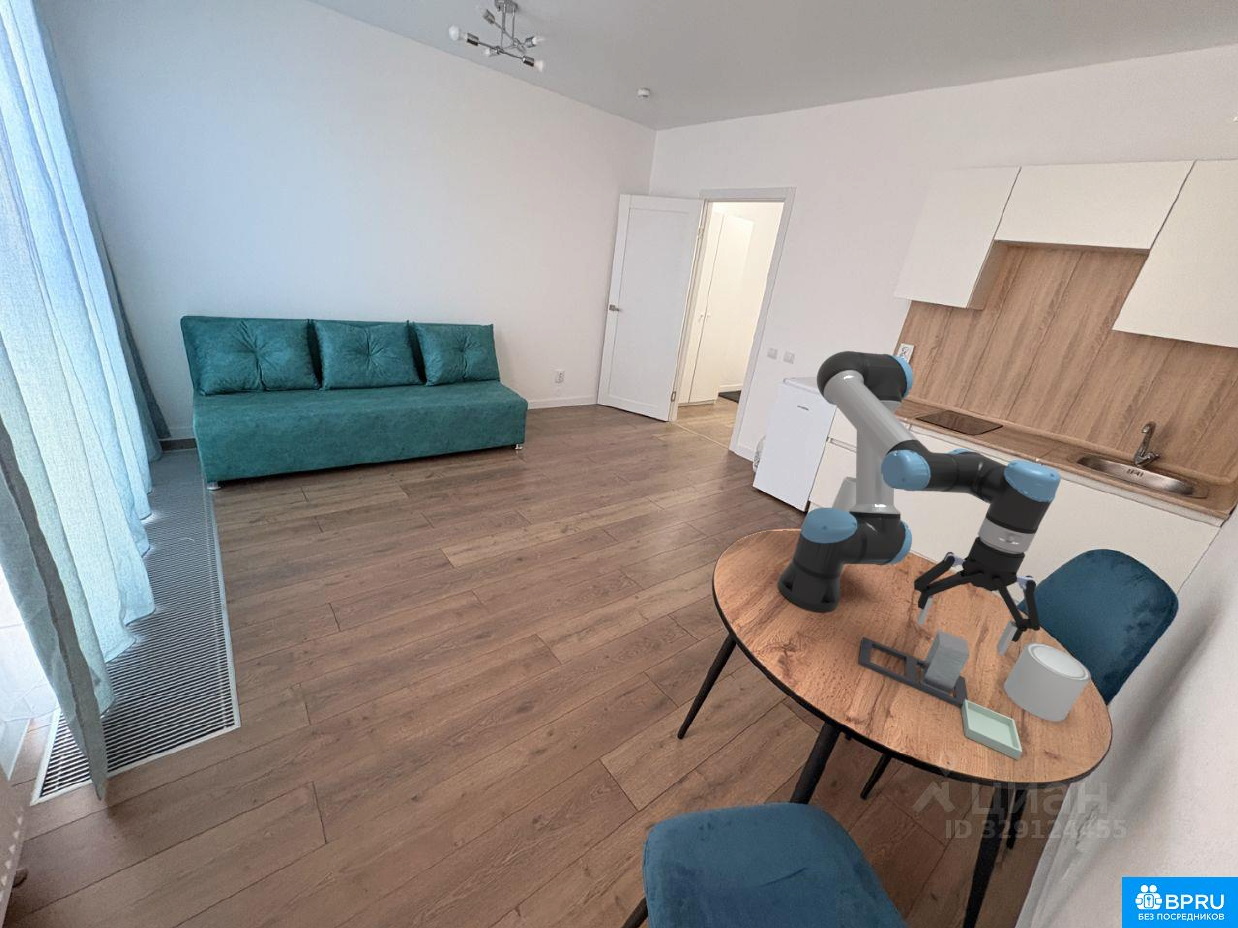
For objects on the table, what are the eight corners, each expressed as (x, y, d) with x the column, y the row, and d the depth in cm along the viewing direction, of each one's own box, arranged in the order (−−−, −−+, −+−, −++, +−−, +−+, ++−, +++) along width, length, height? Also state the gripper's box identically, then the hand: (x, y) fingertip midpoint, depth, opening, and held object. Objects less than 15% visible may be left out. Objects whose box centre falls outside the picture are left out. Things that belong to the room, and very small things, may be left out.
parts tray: (964, 736, 87) (969, 728, 87) (961, 706, 94) (964, 698, 93) (1017, 759, 84) (1022, 752, 83) (1009, 727, 90) (1014, 719, 90)
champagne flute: (836, 545, 150) (859, 476, 141) (845, 556, 144) (869, 485, 135) (815, 542, 150) (837, 474, 141) (824, 554, 143) (846, 483, 135)
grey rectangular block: (920, 684, 98) (940, 643, 94) (920, 669, 102) (938, 629, 98) (948, 696, 96) (969, 654, 92) (947, 680, 100) (966, 640, 96)
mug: (996, 663, 107) (1016, 626, 103) (1052, 683, 103) (1075, 646, 99) (1009, 705, 95) (1032, 666, 91) (1073, 730, 91) (1099, 690, 87)
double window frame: (858, 663, 102) (859, 660, 101) (861, 639, 109) (862, 636, 109) (967, 710, 93) (969, 706, 93) (962, 680, 100) (964, 677, 100)
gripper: (924, 529, 89) (888, 619, 96) (1096, 579, 78) (1040, 676, 85) (922, 515, 95) (889, 601, 103) (1082, 559, 84) (1031, 652, 92)
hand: (958, 635), depth 94 cm, fingers open, 13 cm apart
